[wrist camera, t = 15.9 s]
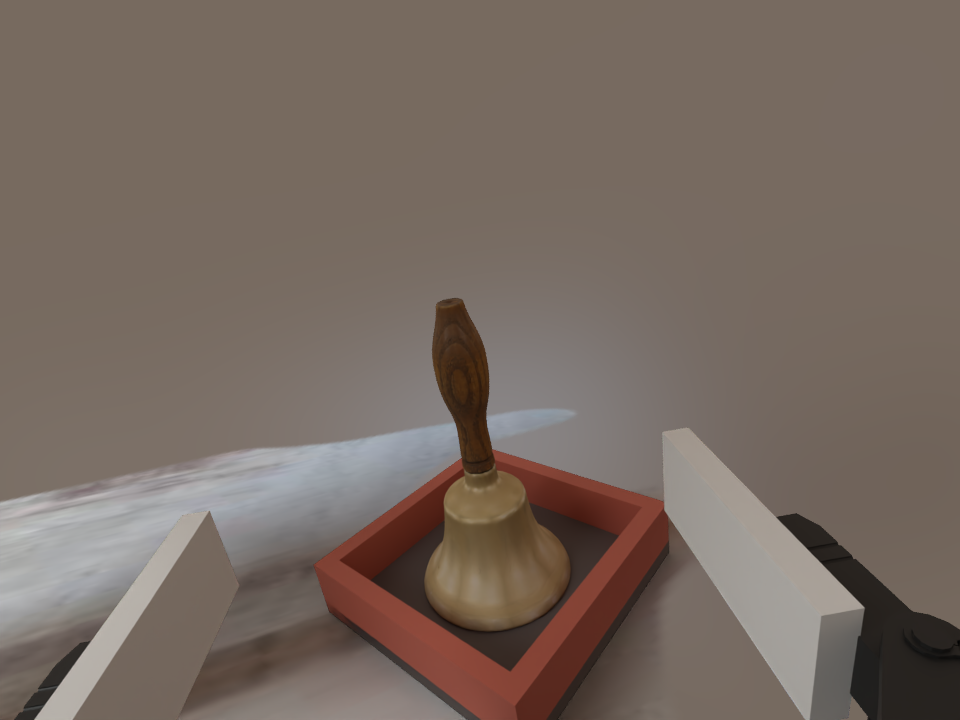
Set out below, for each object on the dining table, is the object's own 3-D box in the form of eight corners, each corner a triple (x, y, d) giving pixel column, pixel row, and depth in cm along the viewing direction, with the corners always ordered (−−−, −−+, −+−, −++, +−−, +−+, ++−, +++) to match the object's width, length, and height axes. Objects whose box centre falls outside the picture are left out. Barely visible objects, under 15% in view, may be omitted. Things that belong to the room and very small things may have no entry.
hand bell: (602, 568, 29) (576, 284, 23) (484, 664, 24) (416, 342, 19) (506, 506, 35) (467, 273, 30) (399, 573, 31) (330, 314, 25)
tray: (329, 611, 30) (313, 564, 29) (485, 484, 39) (479, 445, 38) (526, 765, 21) (515, 705, 20) (669, 551, 30) (667, 502, 29)
